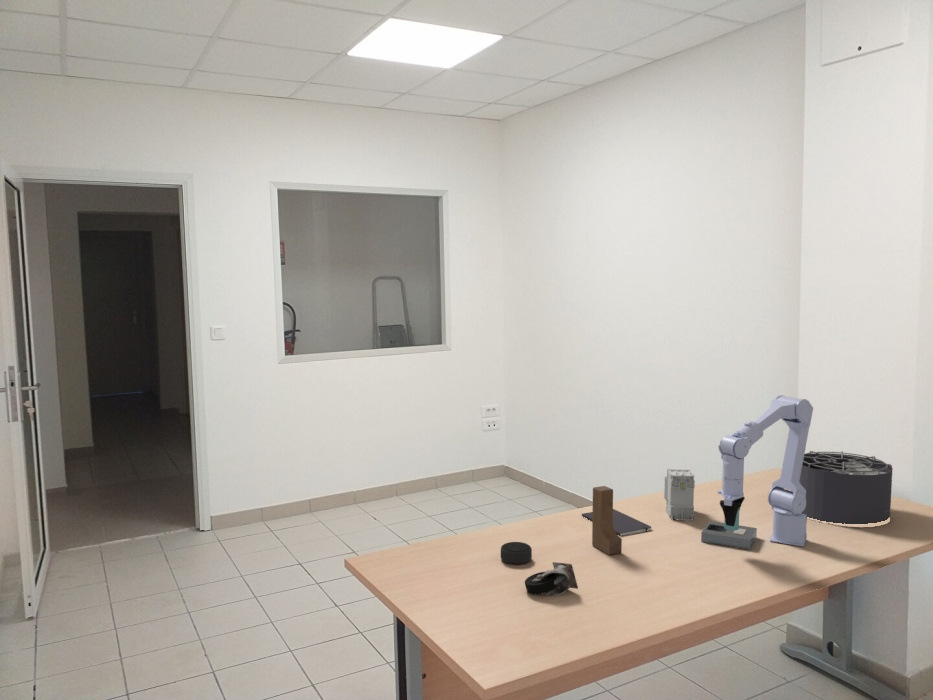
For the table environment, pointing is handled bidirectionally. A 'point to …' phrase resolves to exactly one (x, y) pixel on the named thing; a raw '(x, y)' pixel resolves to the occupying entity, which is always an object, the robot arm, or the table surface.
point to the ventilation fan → (846, 488)
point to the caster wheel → (552, 580)
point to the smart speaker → (516, 553)
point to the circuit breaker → (679, 494)
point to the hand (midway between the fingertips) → (731, 523)
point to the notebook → (623, 523)
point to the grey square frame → (729, 535)
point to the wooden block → (604, 522)
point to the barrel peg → (736, 525)
